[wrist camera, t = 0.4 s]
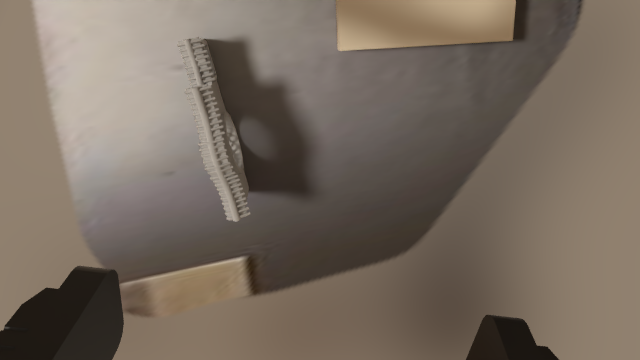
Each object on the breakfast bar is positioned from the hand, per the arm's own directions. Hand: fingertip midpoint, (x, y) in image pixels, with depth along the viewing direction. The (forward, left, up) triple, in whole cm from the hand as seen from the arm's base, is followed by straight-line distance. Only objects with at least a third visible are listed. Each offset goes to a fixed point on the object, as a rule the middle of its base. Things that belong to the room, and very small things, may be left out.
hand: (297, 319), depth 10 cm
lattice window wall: (+1, -5, -26) cm, 27 cm away
